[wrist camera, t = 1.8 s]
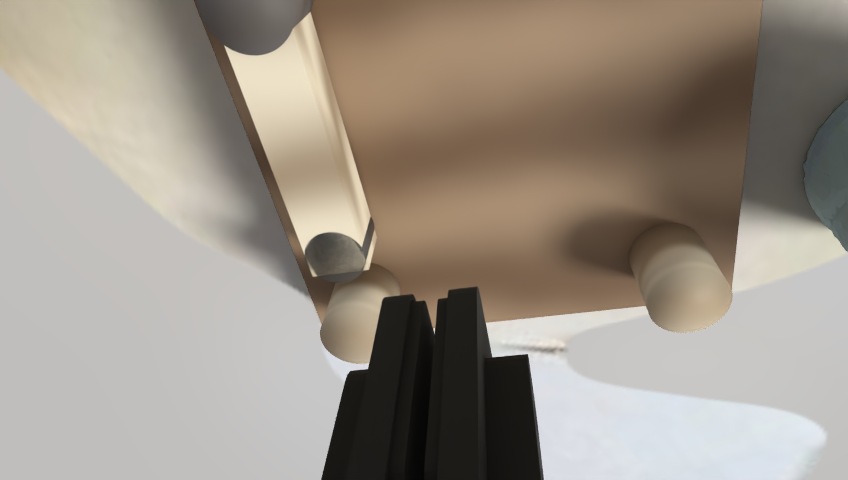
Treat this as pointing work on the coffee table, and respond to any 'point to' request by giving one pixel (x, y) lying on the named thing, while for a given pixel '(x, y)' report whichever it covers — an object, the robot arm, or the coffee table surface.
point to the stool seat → (536, 155)
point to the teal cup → (830, 173)
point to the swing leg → (298, 128)
